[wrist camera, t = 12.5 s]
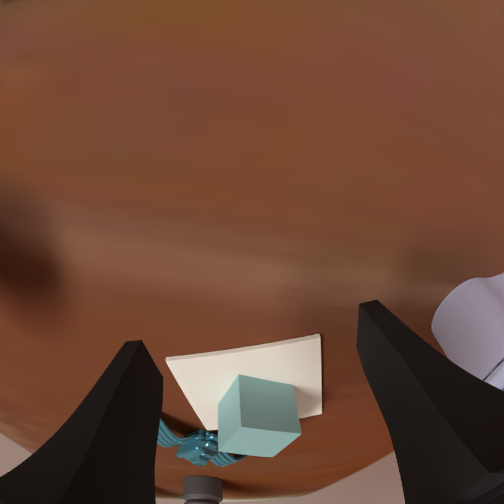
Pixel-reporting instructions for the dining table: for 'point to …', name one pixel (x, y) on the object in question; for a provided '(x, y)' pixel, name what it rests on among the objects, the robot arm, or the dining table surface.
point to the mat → (251, 374)
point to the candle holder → (202, 490)
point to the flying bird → (196, 446)
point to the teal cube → (257, 417)
